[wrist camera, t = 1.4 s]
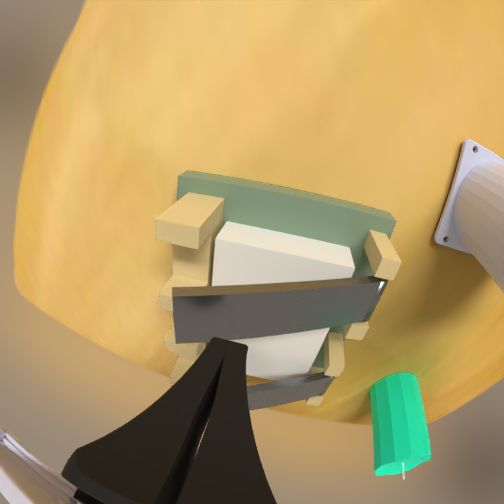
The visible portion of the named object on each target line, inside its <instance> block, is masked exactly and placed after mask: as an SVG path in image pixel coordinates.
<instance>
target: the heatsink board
mask: <svg viewBox="0 0 504 504" xmlns="http://www.w3.org/2000/svg"><path fill="white" fill-rule="evenodd" d="M395 224H396V220H395V219H394V218H393V216H392V215H391V214H390V213H389V212H385V211H382V210H378V209H375V208H371V207H367V206H364V205H360V204H356V203H352V202H348V201H344V200H340V199H336V198H332V197H328V196H324V195H319V194H315V193H310V192H306V191H301V190H297V189H292V188H287V187H282V186H277V185H272V184H267V183H262V182H256V181H251V180H245V179H239V178H233V177H227V176H221V175H215V174H208V173H201V172H194V171H186V172H184V173H182V174H180V175H179V176H178V189H177V202H176V203H174V204H173V205H172V206H170V207H169V208H168V209H167V210H166V211H164V212H163V213H162V214H161V215H159V216H158V217H157V218H156V219H155V236H156V240H157V241H162V242H166V243H171V244H172V256H173V275H172V276H171V278H170V279H169V281H168V282H167V283H166V285H165V286H164V287H163V289H162V290H161V292H160V293H159V298H160V308H161V309H164V310H168V311H171V312H173V301H172V287H198V286H225V285H247V284H266V283H283V282H299V281H314V280H328V279H340V278H353V277H364V276H374V277H378V278H383V279H387V280H392V281H394V278H395V276H396V274H397V272H398V270H399V267H400V265H401V263H402V262H401V260H400V258H399V256H398V254H397V253H396V251H395V249H394V247H393V245H392V244H391V242H390V237H391V235H392V232H393V229H394V226H395ZM368 329H369V324H368V321H367V322H363V321H361V322H356V323H351V324H346V325H340V326H335V327H329V328H323V329H317V330H311V331H305V332H298V333H291V334H283V335H276V336H267V337H259V338H249V339H239V340H229V341H233V342H238V343H242V344H246V345H247V346H248V352H247V359H246V375H249V376H254V377H259V378H263V379H268V380H274V381H282V380H287V379H292V378H297V377H302V376H307V375H311V374H316V373H320V372H324V375H327V376H335V377H339V376H340V375H341V373H342V372H343V370H344V369H345V360H344V347H343V341H344V339H345V338H348V339H354V340H361V341H362V339H363V338H364V336H365V334H366V332H367V331H368ZM164 342H165V349H166V350H167V351H170V352H174V353H177V354H178V360H177V362H176V364H175V366H174V368H173V370H172V372H171V374H170V380H171V383H172V384H175V383H176V382H177V381H178V380H179V379H180V378H181V377H182V376H183V375H184V373H185V372H186V371H187V370H188V369H189V368H190V367H191V366H192V364H193V363H194V362H195V361H196V360H197V358H198V357H199V356H200V354H201V353H202V352H203V350H204V349H205V348H206V346H207V345H208V343H209V342H201V343H182V344H176V341H175V330H174V323H173V325H172V326H171V328H170V330H169V332H168V334H167V335H166V337H165V339H164ZM322 401H323V395H322V396H315V397H312V398H308V399H306V404H307V405H315V406H319V405H320V403H321V402H322Z"/></svg>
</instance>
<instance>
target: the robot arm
mask: <svg viewBox="0 0 504 504" xmlns="http://www.w3.org/2000/svg"><path fill="white" fill-rule="evenodd" d="M474 146H475V151H474V152H473V147H474ZM446 236H447V238H446V240H444V241H443V239H444V237H446ZM434 240H435V241H436V243H438V244H440V245H444V246H447V247H450V248H453V249H456V250H459V251H462V252H465V253H468V254H471V255H473V256H474V257H475V258H476V259H477V260H478V261H479V263H480V264H481V265H482V266H483V267H484V269H485V270H486V271H487V272H488V273H489V275H490V276H491V277H492V278H493V280H494V281H495V282H496V284H497V285H498V286H499V287H500V289H501V290H502V292H503V293H504V159H502V158H501V157H499V156H498V155H496V154H495V153H493V152H491V151H490V150H488V149H486V148H485V147H483V146H481V145H480V144H478V143H476V142H474V141H473V140H470V139H465V140H464V142H463V145H462V149H461V154H460V158H459V162H458V165H457V169H456V173H455V176H454V179H453V183H452V186H451V189H450V192H449V196H448V199H447V202H446V205H445V207H444V210H443V213H442V216H441V218H440V221H439V224H438V226H437V229H436V232H435V234H434ZM247 352H248V346H247V345H246V344H242V343H238V342H233V341H229V340H225V339H221V338H217V337H213V338H211V340H210V342H209V343H208V345H207V346H206V348H205V349H204V350H203V352H202V353H201V354H200V356H199V357H198V358H197V360H196V361H195V362H194V363H193V364H192V366H191V367H190V368H189V369H188V370H187V371H186V372H185V373H184V375H183V376H182V377H181V378H180V379H179V380H178V381H177V382H176V383H175V384H174V385H173V386H172V387H171V388H170V389H169V390H168V391H167V392H166V393H165V394H164V395H162V396H161V397H160V398H159V399H158V400H157V401H156V402H154V403H153V404H152V405H151V406H150V407H148V408H147V409H146V410H145V411H143V412H142V413H141V414H139V415H138V416H136V417H135V418H134V419H132V420H131V421H129V422H128V423H126V424H124V425H123V426H121V427H119V428H118V429H116V430H114V431H113V432H111V433H109V434H108V435H106V436H104V437H102V438H100V439H98V440H96V441H93V442H91V443H89V444H87V445H85V446H82V447H80V448H78V449H76V450H75V452H74V453H73V454H72V455H71V457H70V458H69V459H68V461H67V463H66V465H65V467H64V469H63V471H62V473H61V475H62V476H61V475H59V474H58V473H57V472H55V471H54V470H53V469H51V468H50V467H48V466H47V465H46V464H45V463H43V462H42V461H41V460H39V459H38V458H37V457H36V456H34V455H33V454H32V453H31V452H29V451H28V450H27V449H26V448H25V447H24V446H23V444H22V443H21V442H20V441H19V440H17V438H16V437H15V436H13V435H12V434H11V433H10V432H9V431H8V430H7V429H6V428H4V427H3V426H1V425H0V491H1V493H2V494H3V495H4V496H5V497H6V499H7V500H8V501H9V503H10V504H77V502H79V503H80V504H277V503H276V501H275V498H274V496H273V494H272V491H271V489H270V486H269V484H268V481H267V479H266V476H265V473H264V470H263V467H262V464H261V461H260V458H259V454H258V450H257V447H256V443H255V439H254V435H253V430H252V425H251V419H250V413H249V406H248V398H247V386H246V359H247ZM208 420H209V421H208ZM207 422H208V424H207ZM206 425H207V427H206ZM205 427H206V429H205ZM204 430H205V432H204ZM203 432H204V435H203V438H202V440H201V443H200V446H199V449H198V451H197V448H198V445H199V442H200V439H201V437H202V434H203ZM196 452H197V454H196ZM195 455H196V457H195Z"/></svg>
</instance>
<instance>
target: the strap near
mask: <svg viewBox="0 0 504 504" xmlns="http://www.w3.org/2000/svg"><path fill="white" fill-rule="evenodd" d="M387 283H388V280H387V279H383V278H378V277H374V276H364V277H353V278H340V279H328V280H314V281H299V282H283V283H266V284H247V285H225V286H198V287H172V301H173V317H174V330H175V341H176V344H182V343H201V342H210V340H211V338H213V337H217V338H221V339H225V340H239V339H249V338H259V337H267V336H276V335H283V334H291V333H298V332H305V331H311V330H317V329H323V328H329V327H335V326H340V325H346V324H351V323H356V322H361V321H363V322H367V321H368V320H369V319H370V317H371V315H372V313H373V311H374V309H375V307H376V305H377V303H378V301H379V299H380V297H381V295H382V293H383V291H384V289H385V287H386V285H387Z"/></svg>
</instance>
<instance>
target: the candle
mask: <svg viewBox="0 0 504 504" xmlns="http://www.w3.org/2000/svg"><path fill="white" fill-rule="evenodd" d="M370 399H371V410H372V423H373V440H374V472H375V476H381V475H392V474H398V473H402V472H403V480H404V472H405V471H408V470H410V469H412V468H414V467H415V466H417V465H418V464H420V463H422V462H425V461H429V460H430V458H431V449H430V442H429V435H428V429H427V423H426V417H425V412H424V407H423V402H422V397H421V393H420V389H419V384H418V380H417V377H416V376H415V375H413V374H411V373H397V374H394V375H390V376H387V377H384V378H383V379H381V380H380V381H378V382H376V383H375V384H374V385H373V387H372V388H371V390H370Z"/></svg>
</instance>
